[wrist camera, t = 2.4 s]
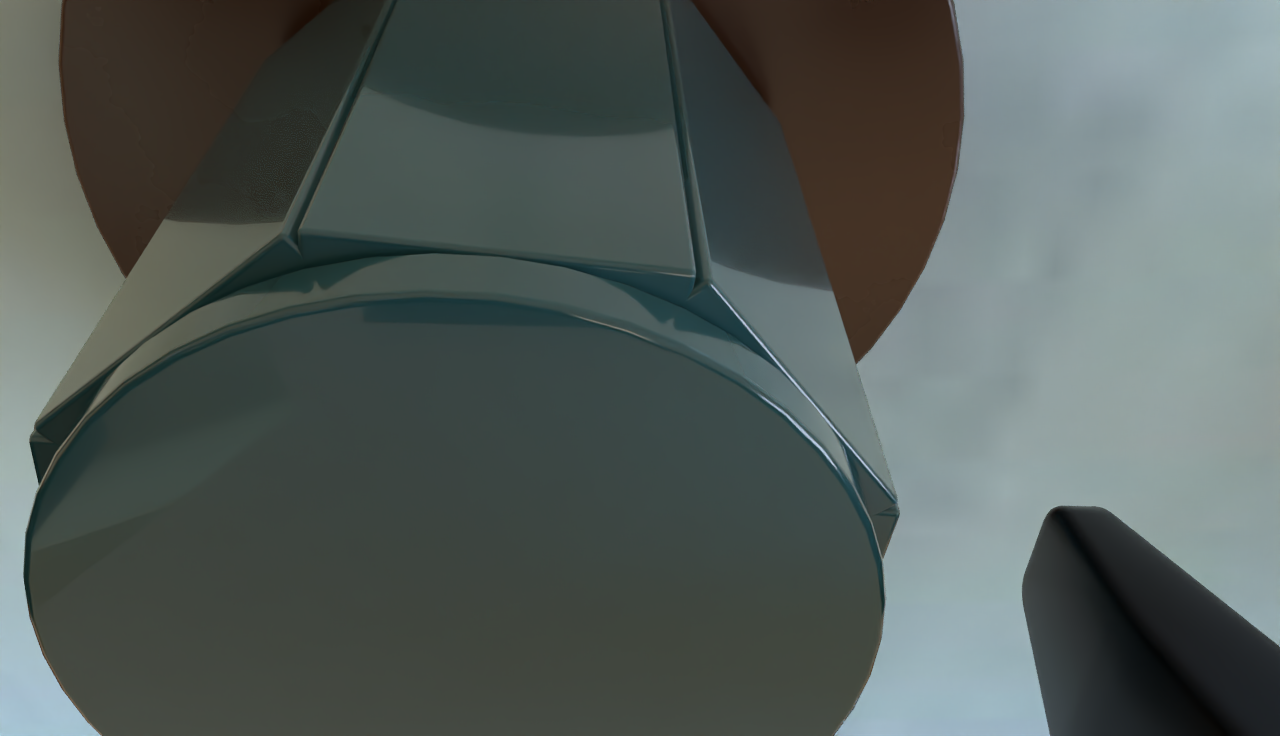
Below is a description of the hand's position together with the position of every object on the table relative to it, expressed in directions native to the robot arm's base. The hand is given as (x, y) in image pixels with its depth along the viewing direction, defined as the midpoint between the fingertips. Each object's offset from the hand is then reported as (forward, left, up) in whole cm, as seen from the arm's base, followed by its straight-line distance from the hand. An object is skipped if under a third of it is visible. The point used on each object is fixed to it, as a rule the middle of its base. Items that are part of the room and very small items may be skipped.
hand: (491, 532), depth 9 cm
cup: (0, 0, -6) cm, 6 cm away
